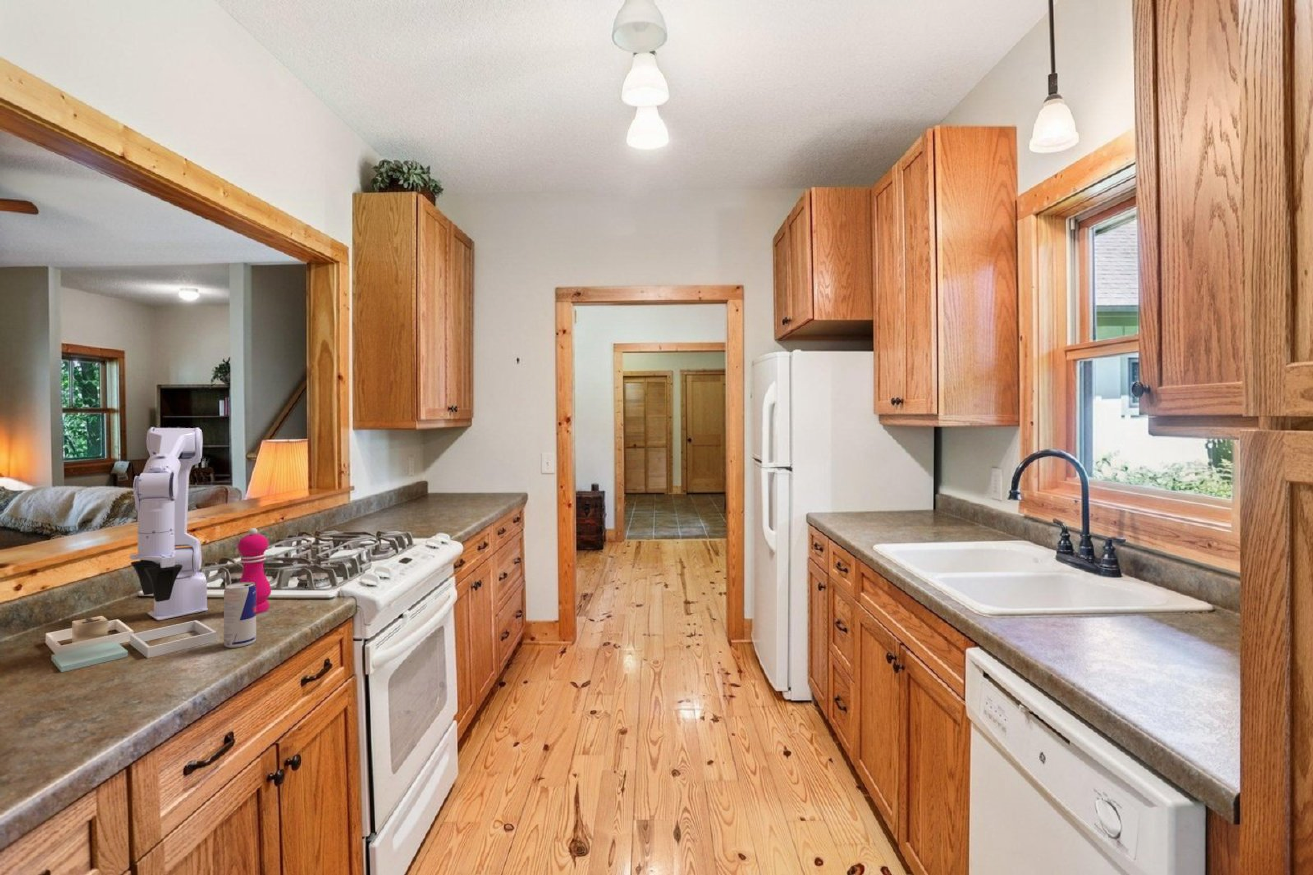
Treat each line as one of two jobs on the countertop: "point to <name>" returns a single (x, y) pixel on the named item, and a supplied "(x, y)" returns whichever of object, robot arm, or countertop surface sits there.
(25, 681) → the countertop surface
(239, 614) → the energy drink
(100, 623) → the letter cube
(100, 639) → the white tray
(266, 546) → the pepper mill
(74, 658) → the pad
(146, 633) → the white rectangular frame
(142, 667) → the countertop surface
